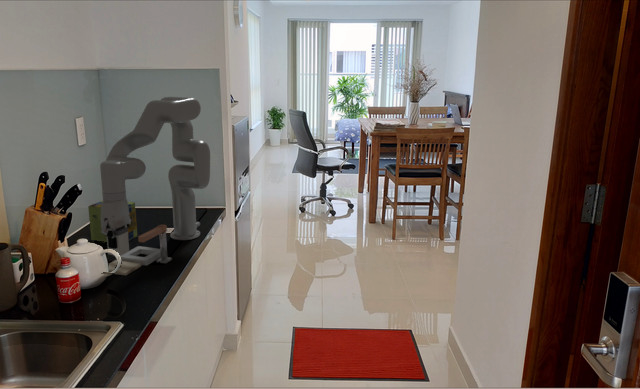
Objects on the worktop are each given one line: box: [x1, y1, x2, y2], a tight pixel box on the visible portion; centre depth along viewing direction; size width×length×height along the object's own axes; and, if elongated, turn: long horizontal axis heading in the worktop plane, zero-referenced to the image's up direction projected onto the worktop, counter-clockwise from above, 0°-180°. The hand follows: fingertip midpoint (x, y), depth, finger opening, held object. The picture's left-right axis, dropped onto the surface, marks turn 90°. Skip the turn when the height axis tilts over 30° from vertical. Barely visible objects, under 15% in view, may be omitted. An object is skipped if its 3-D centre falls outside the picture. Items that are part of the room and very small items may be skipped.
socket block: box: [121, 245, 161, 266], centre depth 183 cm, size 12×12×2 cm
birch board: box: [108, 259, 142, 276], centre depth 173 cm, size 9×11×1 cm
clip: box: [137, 224, 168, 243], centre depth 172 cm, size 3×15×2 cm, turn 165°
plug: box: [106, 227, 130, 256], centre depth 170 cm, size 5×5×11 cm
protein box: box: [88, 200, 138, 243], centre depth 201 cm, size 10×15×16 cm
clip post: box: [155, 231, 173, 264], centre depth 179 cm, size 4×4×12 cm
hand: (118, 244), depth 170 cm, fingers closed on plug, 5 cm apart
